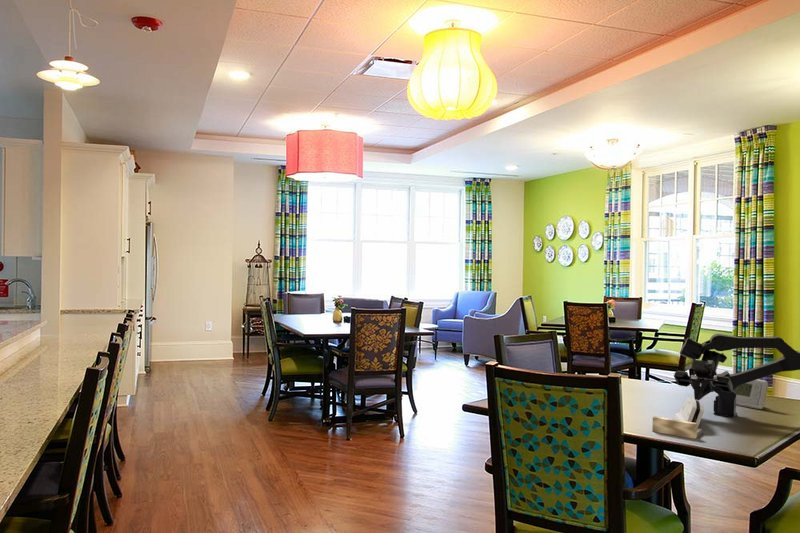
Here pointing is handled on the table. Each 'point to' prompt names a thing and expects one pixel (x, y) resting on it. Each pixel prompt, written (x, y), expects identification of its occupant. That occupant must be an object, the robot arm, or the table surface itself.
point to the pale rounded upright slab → (691, 411)
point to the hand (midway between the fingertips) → (696, 400)
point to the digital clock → (751, 394)
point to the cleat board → (676, 427)
